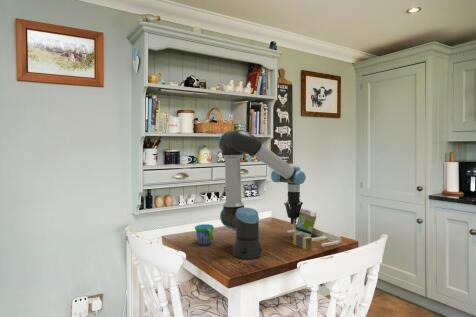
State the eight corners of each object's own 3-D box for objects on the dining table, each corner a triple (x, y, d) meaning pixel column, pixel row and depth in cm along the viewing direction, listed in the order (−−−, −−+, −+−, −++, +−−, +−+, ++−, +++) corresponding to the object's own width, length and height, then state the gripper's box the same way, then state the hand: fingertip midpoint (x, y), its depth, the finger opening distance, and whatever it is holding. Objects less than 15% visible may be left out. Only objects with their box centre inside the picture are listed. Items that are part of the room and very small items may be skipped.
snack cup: (191, 241, 188) (190, 224, 188) (207, 239, 194) (207, 222, 193) (201, 248, 175) (201, 230, 175) (218, 245, 180) (218, 227, 180)
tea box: (310, 240, 189) (316, 216, 188) (293, 235, 192) (300, 211, 190) (310, 234, 204) (316, 212, 203) (295, 229, 206) (301, 207, 205)
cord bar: (305, 249, 171) (305, 238, 171) (293, 244, 181) (293, 233, 181) (311, 248, 173) (311, 237, 173) (299, 243, 183) (299, 233, 183)
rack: (323, 246, 176) (323, 239, 176) (286, 232, 208) (286, 226, 208) (341, 243, 182) (341, 236, 182) (303, 230, 214) (303, 224, 214)
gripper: (288, 192, 190) (288, 231, 190) (305, 191, 195) (305, 229, 195) (281, 190, 197) (281, 228, 197) (298, 190, 202) (297, 227, 202)
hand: (293, 229), depth 196 cm, fingers closed
